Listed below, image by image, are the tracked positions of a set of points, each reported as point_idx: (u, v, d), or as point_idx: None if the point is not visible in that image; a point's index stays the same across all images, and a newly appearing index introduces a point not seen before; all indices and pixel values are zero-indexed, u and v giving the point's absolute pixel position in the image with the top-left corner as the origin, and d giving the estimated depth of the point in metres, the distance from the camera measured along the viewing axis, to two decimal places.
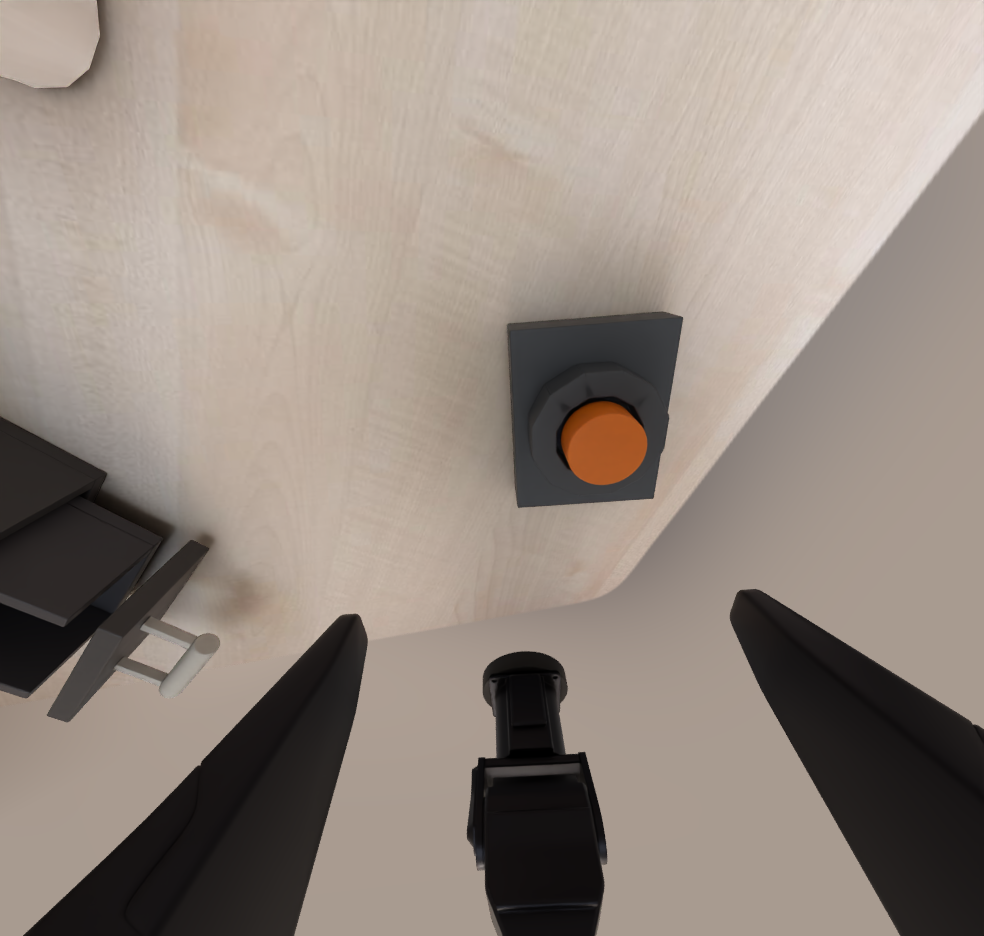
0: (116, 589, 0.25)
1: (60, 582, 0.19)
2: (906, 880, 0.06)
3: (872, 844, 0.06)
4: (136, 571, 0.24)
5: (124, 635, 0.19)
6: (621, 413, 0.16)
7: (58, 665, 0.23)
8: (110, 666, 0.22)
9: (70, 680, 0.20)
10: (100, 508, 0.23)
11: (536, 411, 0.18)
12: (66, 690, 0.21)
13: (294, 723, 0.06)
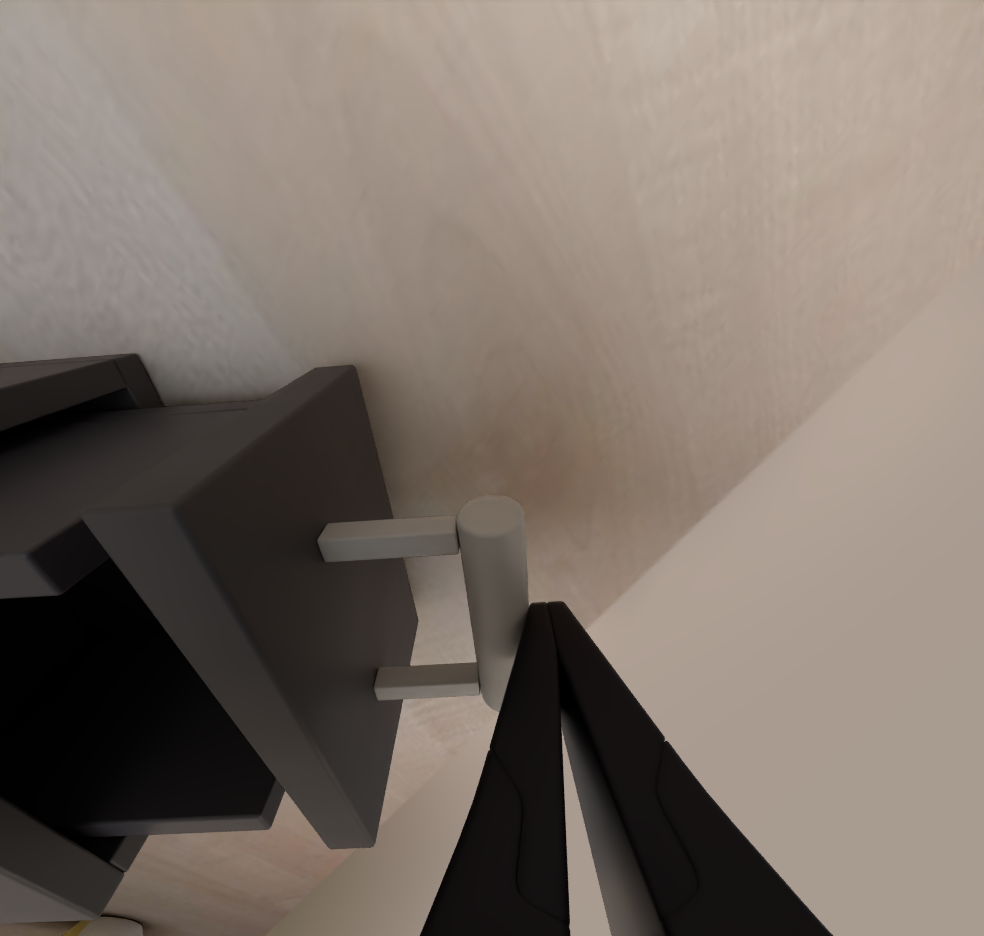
0: None
1: (26, 499, 0.06)
2: (610, 893, 0.06)
3: (598, 857, 0.06)
4: None
5: (182, 502, 0.04)
6: None
7: None
8: (338, 684, 0.08)
9: (263, 754, 0.07)
10: (139, 409, 0.10)
11: None
12: (287, 782, 0.08)
13: (557, 708, 0.06)
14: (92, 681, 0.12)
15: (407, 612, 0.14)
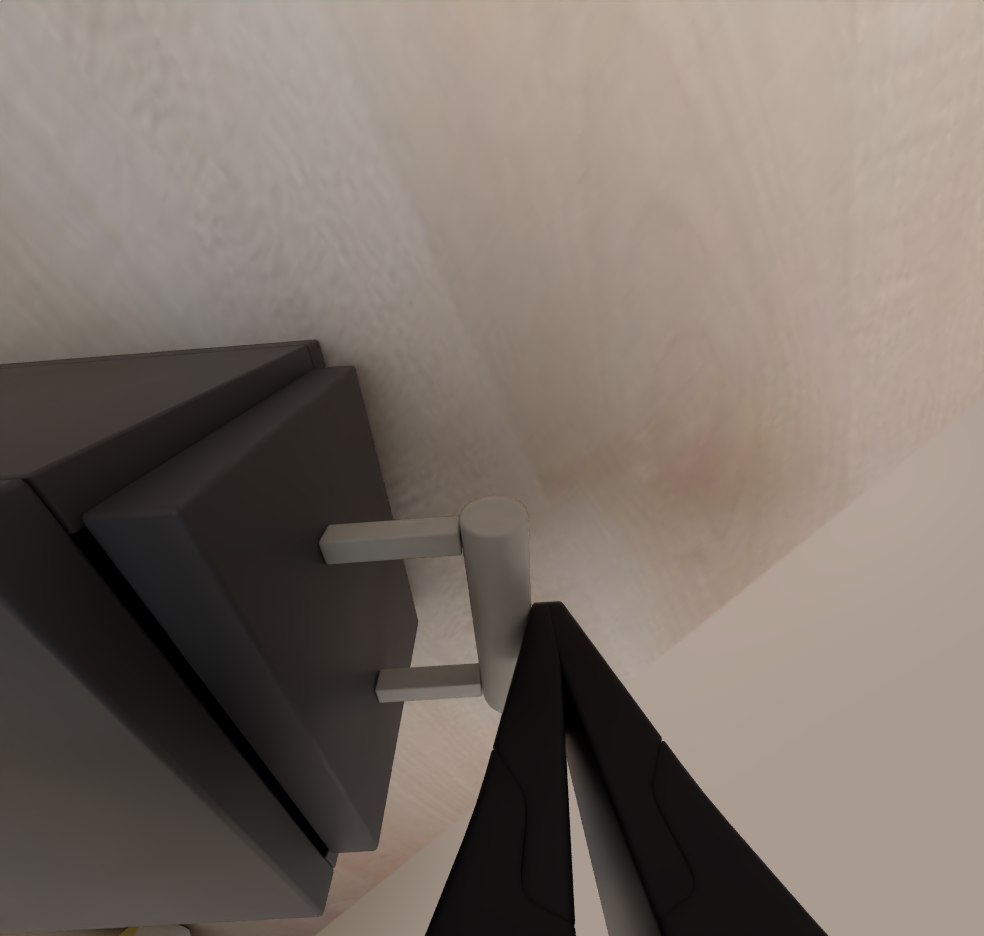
0: None
1: None
2: (607, 893, 0.06)
3: (595, 857, 0.06)
4: None
5: (185, 504, 0.04)
6: None
7: None
8: (340, 687, 0.08)
9: (266, 758, 0.07)
10: None
11: None
12: (290, 785, 0.07)
13: (560, 708, 0.06)
14: None
15: (407, 613, 0.14)
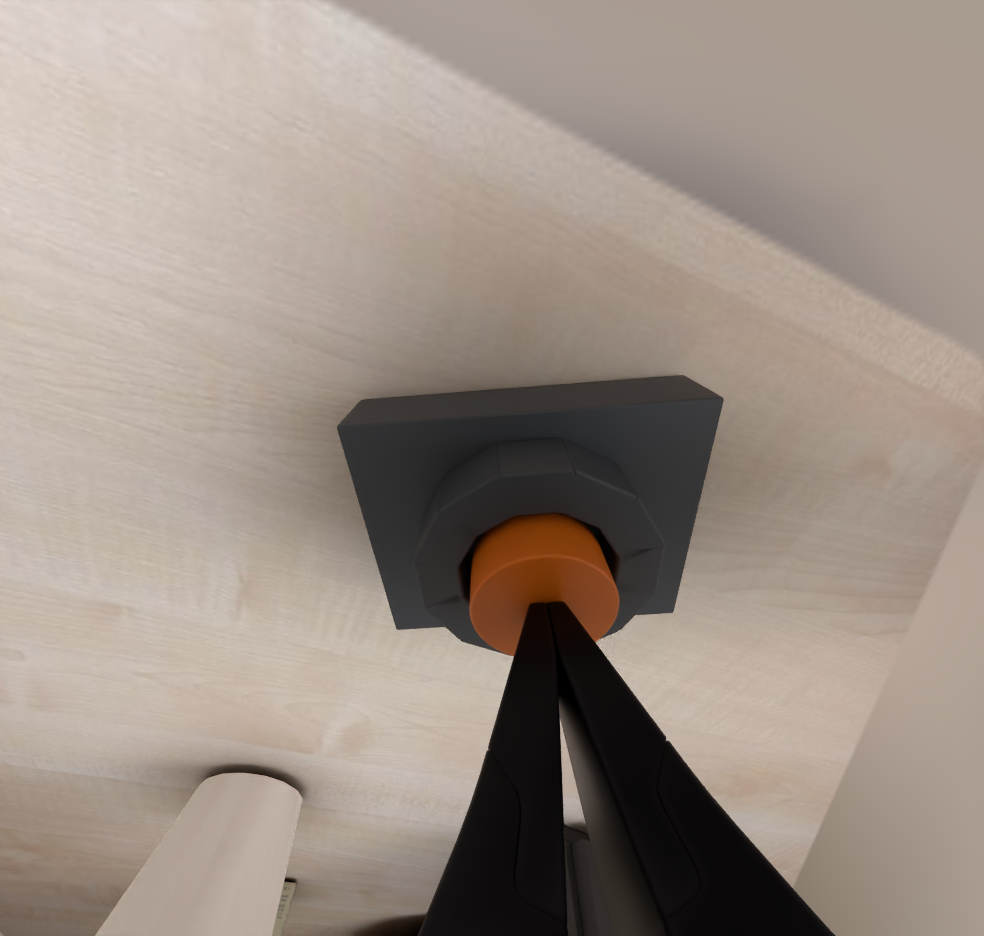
0: None
1: None
2: (611, 893, 0.06)
3: (599, 856, 0.06)
4: None
5: None
6: (471, 597, 0.09)
7: None
8: None
9: None
10: None
11: None
12: None
13: (556, 709, 0.06)
14: None
15: None
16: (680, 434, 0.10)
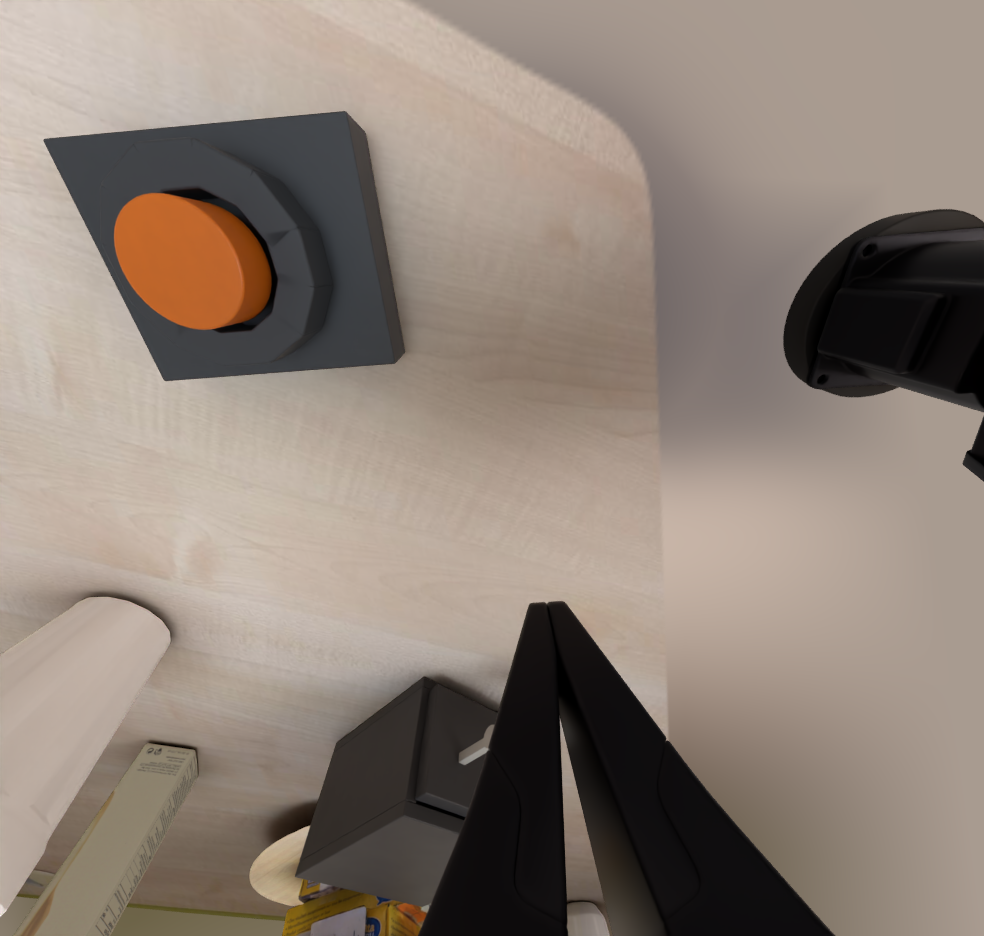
0: None
1: None
2: (611, 893, 0.06)
3: (599, 857, 0.06)
4: None
5: (426, 790, 0.23)
6: (119, 251, 0.11)
7: None
8: None
9: None
10: None
11: None
12: None
13: (556, 708, 0.06)
14: None
15: None
16: (324, 151, 0.12)
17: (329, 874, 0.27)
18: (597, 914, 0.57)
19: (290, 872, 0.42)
